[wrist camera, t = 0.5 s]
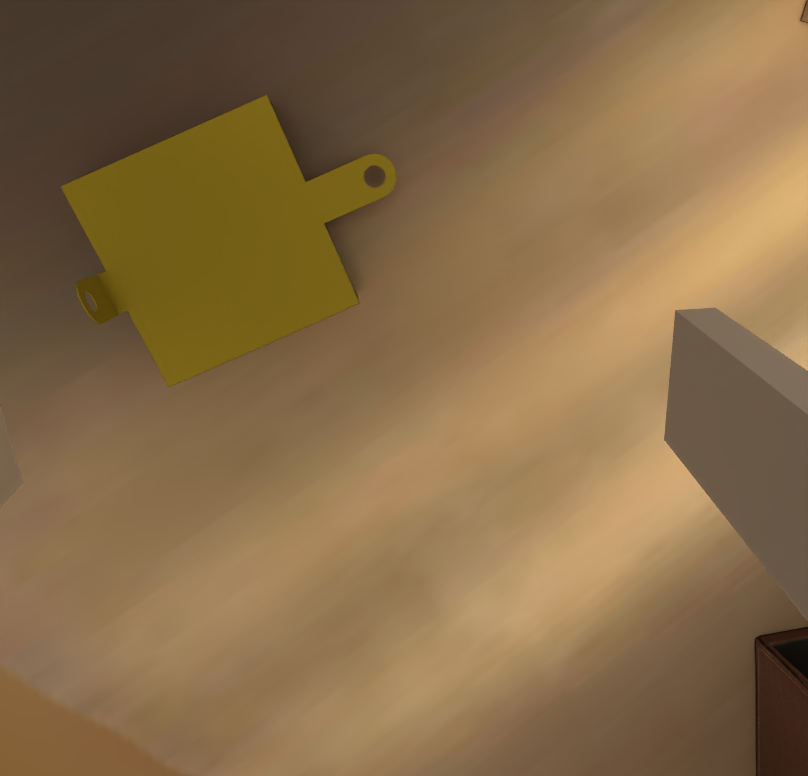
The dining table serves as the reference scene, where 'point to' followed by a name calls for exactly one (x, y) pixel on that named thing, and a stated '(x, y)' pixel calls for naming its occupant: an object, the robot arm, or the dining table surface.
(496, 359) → the dining table surface
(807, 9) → the sprocket
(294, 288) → the bracket
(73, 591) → the dining table surface
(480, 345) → the dining table surface
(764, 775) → the letter holder
